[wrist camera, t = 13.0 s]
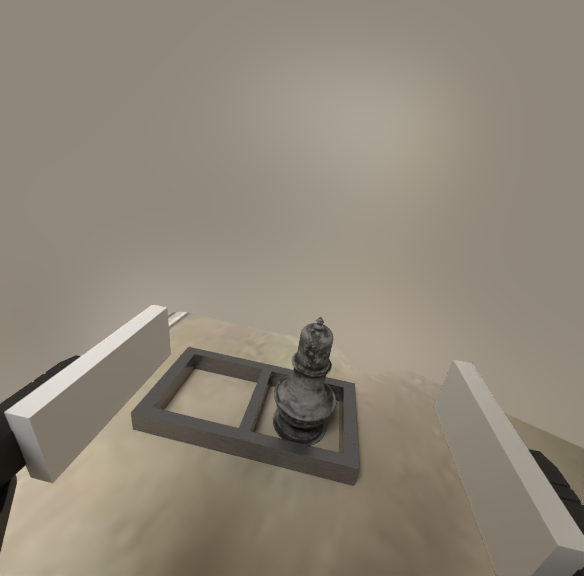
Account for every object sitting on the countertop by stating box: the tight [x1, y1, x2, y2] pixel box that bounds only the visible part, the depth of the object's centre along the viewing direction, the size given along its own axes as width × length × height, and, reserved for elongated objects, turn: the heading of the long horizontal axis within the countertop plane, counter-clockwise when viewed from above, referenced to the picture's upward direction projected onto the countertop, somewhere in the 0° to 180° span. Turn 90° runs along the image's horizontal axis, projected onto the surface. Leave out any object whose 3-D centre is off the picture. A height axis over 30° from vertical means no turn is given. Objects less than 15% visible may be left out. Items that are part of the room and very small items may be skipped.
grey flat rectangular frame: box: [131, 347, 360, 485], centre depth 29 cm, size 20×10×2 cm, turn 81°
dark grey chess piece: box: [273, 317, 336, 446], centre depth 26 cm, size 6×6×12 cm
